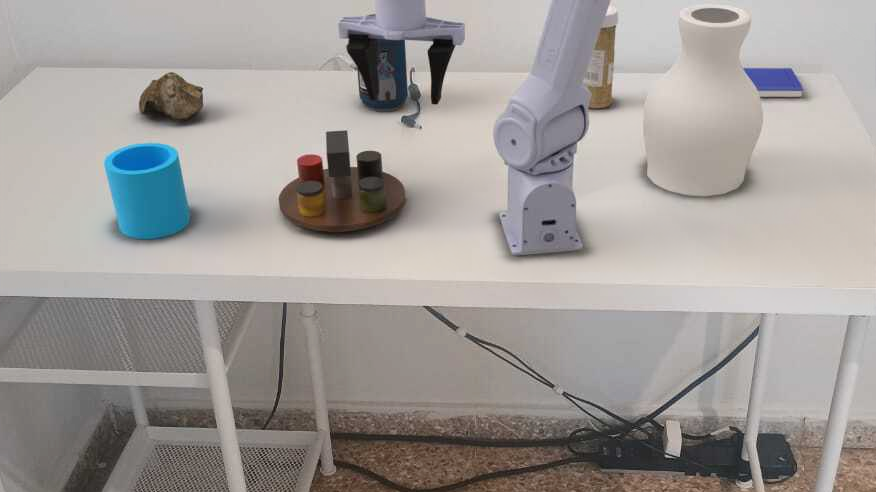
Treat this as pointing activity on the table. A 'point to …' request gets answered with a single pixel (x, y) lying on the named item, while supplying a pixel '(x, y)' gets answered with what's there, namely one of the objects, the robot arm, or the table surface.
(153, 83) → the fossilized seashell
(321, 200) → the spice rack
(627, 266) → the table surface
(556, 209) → the robot arm
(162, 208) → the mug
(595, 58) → the sprinkles bottle
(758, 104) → the vase
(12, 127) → the table surface
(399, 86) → the soda can
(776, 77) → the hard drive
